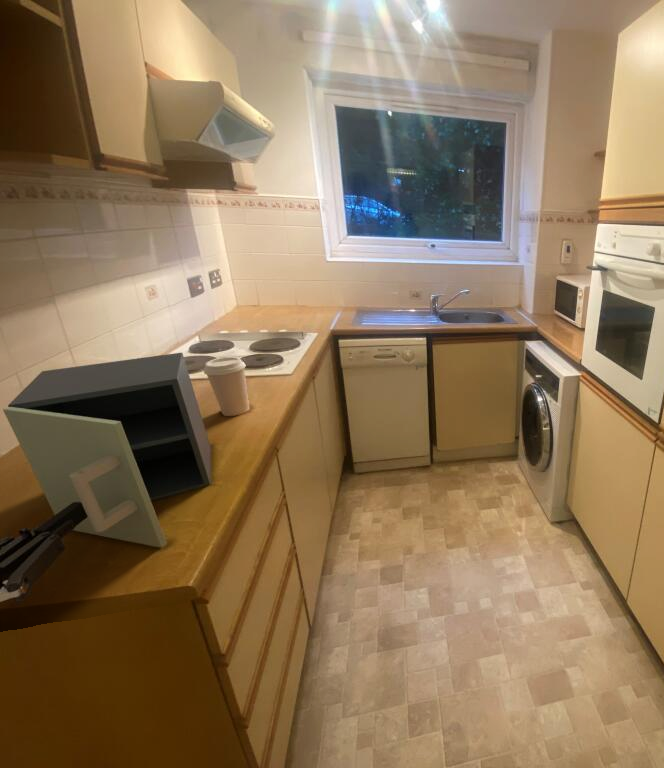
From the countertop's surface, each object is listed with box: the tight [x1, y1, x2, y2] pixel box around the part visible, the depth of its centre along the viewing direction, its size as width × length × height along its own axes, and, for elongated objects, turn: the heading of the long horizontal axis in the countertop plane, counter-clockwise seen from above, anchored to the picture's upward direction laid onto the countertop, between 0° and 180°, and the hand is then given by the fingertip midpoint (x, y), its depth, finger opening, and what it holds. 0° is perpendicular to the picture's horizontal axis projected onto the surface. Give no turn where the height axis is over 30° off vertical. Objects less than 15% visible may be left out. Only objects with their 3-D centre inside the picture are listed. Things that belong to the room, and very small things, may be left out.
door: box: [2, 406, 168, 549], centre depth 68 cm, size 7×22×24 cm, turn 78°
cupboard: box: [7, 352, 211, 501], centre depth 86 cm, size 18×22×24 cm
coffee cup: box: [203, 356, 251, 417], centre depth 118 cm, size 10×10×15 cm
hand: (81, 509), depth 69 cm, fingers closed
